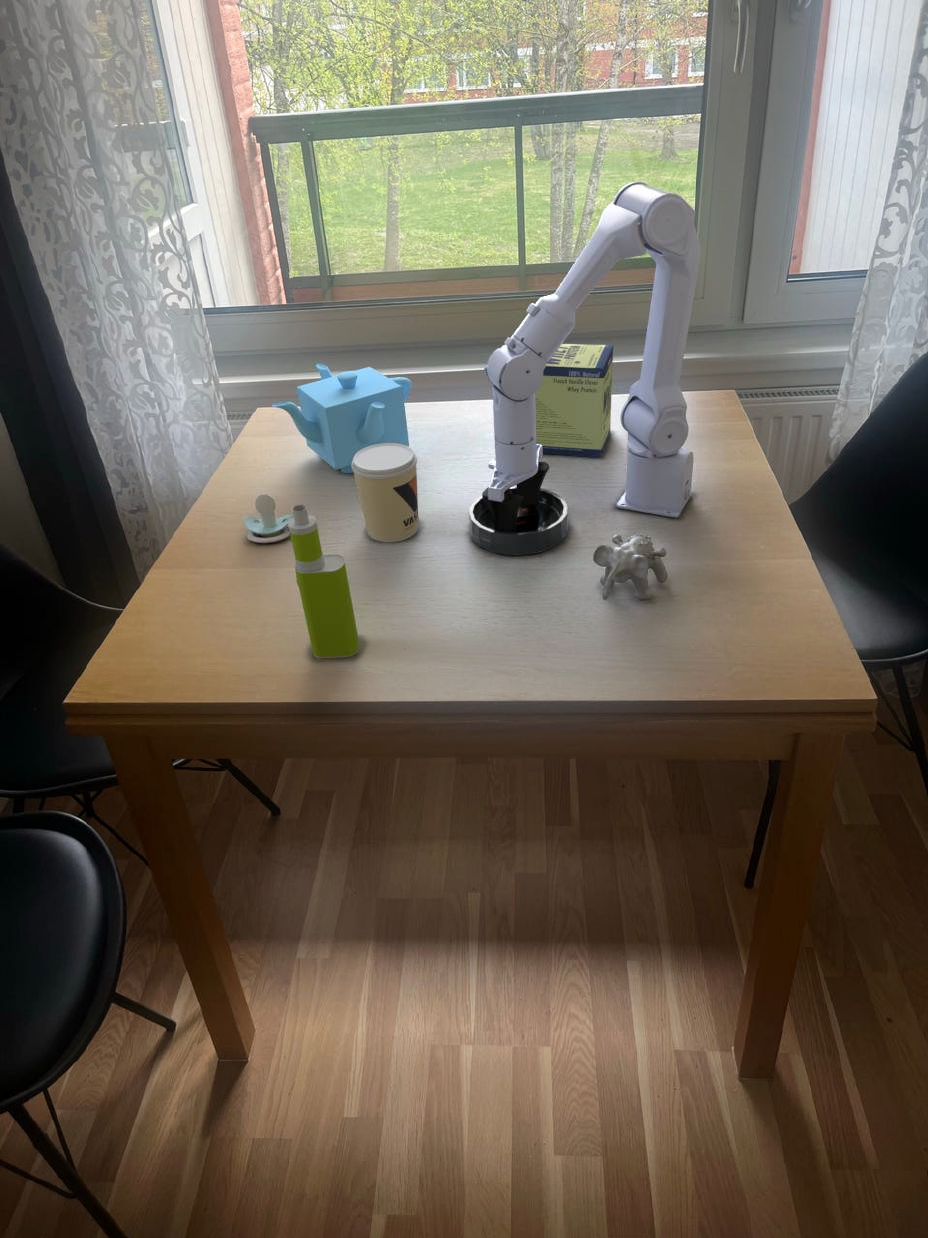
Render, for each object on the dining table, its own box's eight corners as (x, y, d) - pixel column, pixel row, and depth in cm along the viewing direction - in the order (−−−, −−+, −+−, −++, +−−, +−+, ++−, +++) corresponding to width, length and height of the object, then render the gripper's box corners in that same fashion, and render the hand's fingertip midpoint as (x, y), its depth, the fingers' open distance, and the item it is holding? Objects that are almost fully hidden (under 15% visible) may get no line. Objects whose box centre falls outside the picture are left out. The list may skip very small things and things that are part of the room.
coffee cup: (415, 546, 130) (407, 472, 123) (354, 543, 132) (342, 470, 125) (430, 514, 137) (422, 442, 130) (371, 512, 139) (361, 441, 132)
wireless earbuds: (545, 531, 130) (545, 511, 128) (498, 540, 129) (497, 520, 127) (535, 516, 134) (535, 497, 132) (489, 524, 133) (488, 505, 131)
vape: (313, 640, 113) (284, 500, 101) (360, 638, 113) (336, 497, 101) (309, 659, 110) (278, 517, 98) (358, 656, 110) (332, 514, 98)
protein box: (602, 458, 149) (605, 367, 140) (511, 452, 153) (508, 363, 144) (612, 431, 157) (615, 344, 148) (525, 426, 161) (522, 341, 152)
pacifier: (290, 544, 133) (297, 523, 138) (282, 508, 129) (289, 487, 134) (242, 547, 134) (250, 525, 138) (232, 510, 130) (241, 490, 134)
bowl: (581, 516, 134) (581, 494, 132) (545, 564, 124) (545, 542, 122) (495, 500, 139) (494, 480, 137) (454, 546, 129) (452, 524, 127)
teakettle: (423, 435, 161) (415, 354, 152) (393, 484, 146) (382, 398, 138) (324, 431, 165) (311, 353, 156) (285, 478, 151) (268, 395, 142)
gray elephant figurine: (668, 572, 120) (672, 523, 116) (661, 625, 111) (665, 574, 106) (599, 567, 122) (600, 518, 118) (586, 618, 113) (587, 567, 109)
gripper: (510, 411, 129) (513, 495, 137) (465, 453, 119) (471, 541, 127) (555, 418, 127) (556, 503, 135) (514, 461, 116) (517, 550, 124)
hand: (518, 522), depth 131 cm, fingers closed on wireless earbuds, 7 cm apart
